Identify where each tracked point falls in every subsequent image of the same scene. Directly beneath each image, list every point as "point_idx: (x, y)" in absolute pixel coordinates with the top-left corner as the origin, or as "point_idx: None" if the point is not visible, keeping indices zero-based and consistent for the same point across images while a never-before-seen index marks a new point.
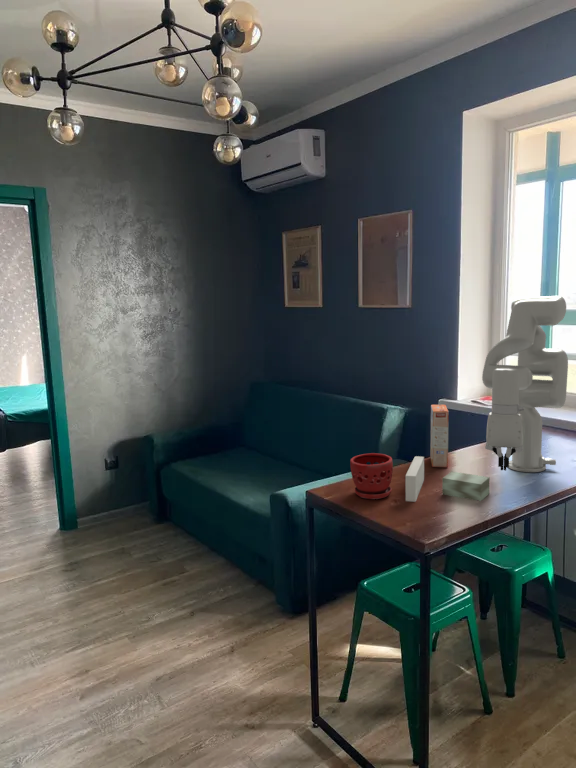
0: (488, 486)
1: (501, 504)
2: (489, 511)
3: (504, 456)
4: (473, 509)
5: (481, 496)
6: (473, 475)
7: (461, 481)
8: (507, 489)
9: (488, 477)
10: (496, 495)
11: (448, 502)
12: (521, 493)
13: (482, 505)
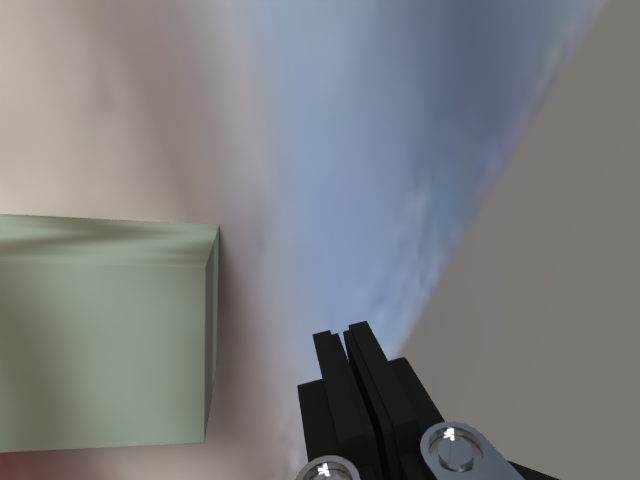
0: (213, 262)
1: None
2: (292, 457)
3: (395, 463)
4: (221, 471)
5: (214, 373)
6: (60, 285)
7: (47, 446)
8: (306, 90)
9: (199, 278)
10: (268, 242)
11: (72, 455)
12: (399, 137)
13: (242, 412)
